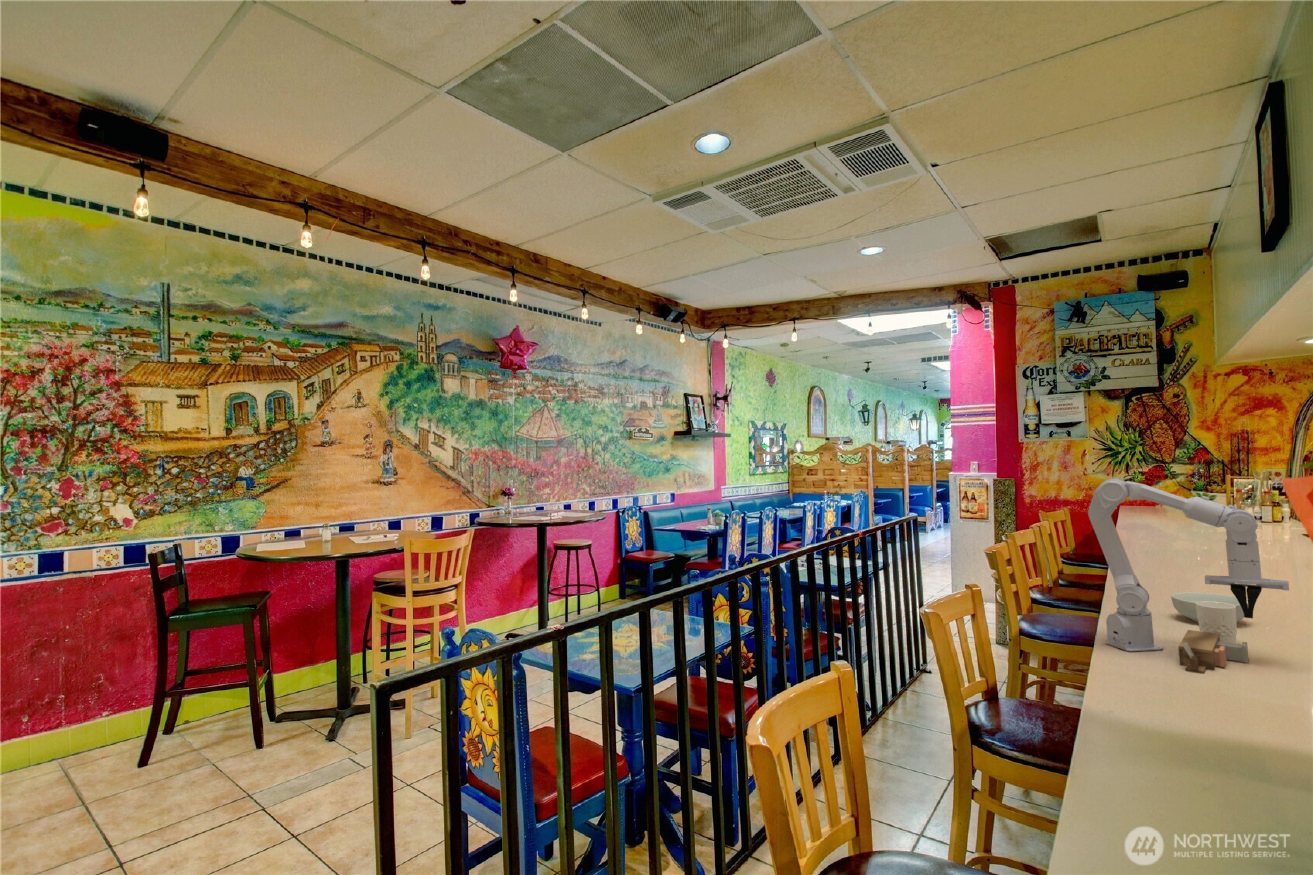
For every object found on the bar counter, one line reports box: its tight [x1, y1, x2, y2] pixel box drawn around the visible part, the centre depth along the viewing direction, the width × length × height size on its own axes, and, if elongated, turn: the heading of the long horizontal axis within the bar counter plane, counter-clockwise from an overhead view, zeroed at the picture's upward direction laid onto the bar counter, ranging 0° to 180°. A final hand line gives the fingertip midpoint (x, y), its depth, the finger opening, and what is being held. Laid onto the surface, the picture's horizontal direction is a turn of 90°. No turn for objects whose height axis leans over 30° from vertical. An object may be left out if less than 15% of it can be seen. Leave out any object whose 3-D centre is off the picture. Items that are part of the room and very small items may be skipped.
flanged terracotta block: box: [1214, 646, 1227, 668], centre depth 146 cm, size 7×4×4 cm, turn 43°
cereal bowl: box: [1171, 591, 1248, 623], centre depth 180 cm, size 17×17×7 cm
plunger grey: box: [1217, 641, 1249, 664], centre depth 148 cm, size 7×4×4 cm, turn 43°
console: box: [1178, 629, 1220, 674], centre depth 148 cm, size 6×22×4 cm, turn 133°
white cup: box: [1196, 601, 1238, 644], centre depth 161 cm, size 8×8×10 cm
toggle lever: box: [1182, 643, 1199, 662], centre depth 143 cm, size 1×2×4 cm, turn 133°
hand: (1248, 617), depth 147 cm, fingers closed
